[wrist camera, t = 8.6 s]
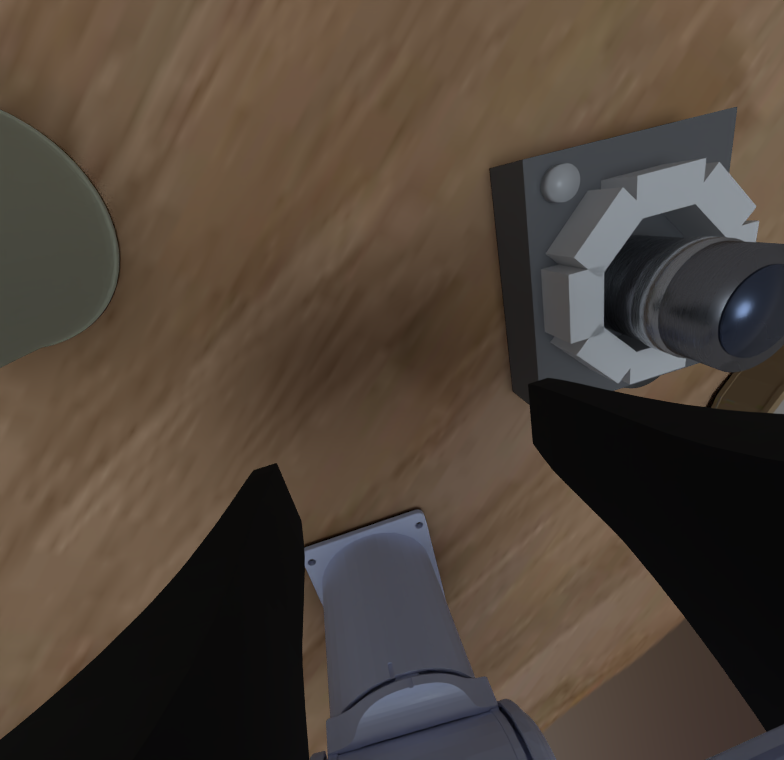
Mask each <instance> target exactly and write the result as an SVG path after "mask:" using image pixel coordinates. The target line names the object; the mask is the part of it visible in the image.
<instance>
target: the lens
mask: <svg viewBox="0 0 784 760" xmlns="http://www.w3.org/2000/svg"><path fill="white" fill-rule="evenodd" d="M604 328H607V329H610V330H612V331H615V332H618V333H620V334H623V335H626V336H629V337H631V338H634V339H637V340H640V341H641V342H643V343H644V344H645V345H647V346H649V347H651V348H654V349H657V350H659V351H662V352H665V353H667V354H670V355H673V356H675V357H678V358H688V359H691V360H694V361H697V362H699V363H702V364H705V365H708V366H710V367H713V368H716V369H718V370H721V371H724V372H740V371H744V370H748V369H750V368H753V367H755V366H757V365H759V364H760V363H762V362H764V361H765V360H767V359H768V358H769V357H771V356H772V355H773V354H774V353H776V352H777V351H778V350H779V349H780V348H781V347H782V346H783V345H784V244H776V243H760V242H744V241H743V240H740V239H737V238H728V237H710V236H691V237H687V238H680V237H664V236H649V235H630V237H629V238H628V240H627V241H626V242H625V244H624V245H623V247H622V248H621V249H620V251H619V252H618V254H617V255H616V256H615V258H614V259H613V261H612V262H611V263H610V265H609V266H608V268H607V269H606V270H605V272H604Z"/></svg>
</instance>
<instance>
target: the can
mask: <svg viewBox="0 0 784 760" xmlns="http://www.w3.org/2000/svg"><path fill="white" fill-rule="evenodd" d="M118 273H119V248H118V241H117V237H116V233H115V228H114V226H113V223H112V220H111V218H110V215H109V213H108V211H107V209H106V206H105V204H104V202H103V201H102V199H101V197H100V195H99V194H98V192H97V190H96V189H95V187H94V186H93V184H92V183H91V182H90V180H89V179H88V177H87V176H86V175H85V174H84V173H83V171H82V170H81V169H80V168H79V167H78V165H77V164H76V163H75V162H74V161H73V160H72V159H71V158H70V157H69V156H68V155H67V154H66V153H65V152H64V151H63V150H62V149H60V148H59V147H58V146H57V145H56V144H55V143H54V142H52V141H51V140H50V139H48V138H47V137H46V136H44V135H43V134H42V133H40V132H39V131H37V130H36V129H35V128H33V127H32V126H30V125H28V124H26V123H25V122H23V121H21V120H20V119H18V118H16V117H15V116H13V115H10V114H8V113H6V112H4V111H2V110H0V368H1V367H3V366H5V365H7V364H9V363H11V362H13V361H15V360H17V359H19V358H21V357H23V356H25V355H27V354H29V353H31V352H34V351H36V350H38V349H40V348H42V347H46V346H50V345H54V344H57V343H60V342H63V341H65V340H68V339H70V338H72V337H74V336H76V335H77V334H79V333H81V332H82V331H84V330H85V329H87V328H88V327H89V326H90V325H91V324H93V323H94V322H95V321H96V320H97V319H98V317H99V316H100V315H101V314H102V313H103V311H104V310H105V308H106V307H107V305H108V304H109V302H110V300H111V298H112V295H113V293H114V291H115V288H116V284H117V279H118Z"/></svg>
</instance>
